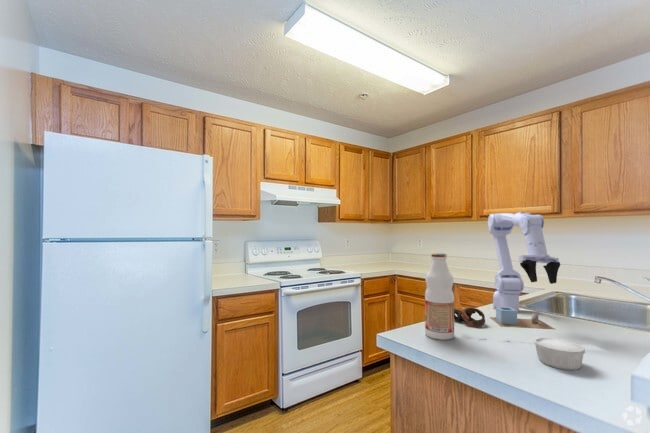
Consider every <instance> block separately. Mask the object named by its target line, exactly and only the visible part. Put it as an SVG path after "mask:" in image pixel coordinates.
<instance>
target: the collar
mask: <svg viewBox="0 0 650 433" xmlns="http://www.w3.org/2000/svg"><path fill="white" fill-rule="evenodd" d="M495 317H496V320H497V321H498V322H500V323H501V324H512V325H517V319H518V312H517V311H516V310H515V309H513V308H511V307H496V309H495Z"/></svg>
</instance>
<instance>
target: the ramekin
mask: <svg viewBox="0 0 650 433" xmlns="http://www.w3.org/2000/svg"><path fill="white" fill-rule="evenodd" d="M534 345H535V350H536V354H537V358H538V360H539V361H540V362H541V363H543V365H547V366H549V367H553V368H556V369H560V370H565V371H566V370H567V371H568V370H570V371H574V370H579V369H580V368H581V367H582V365H583V359H584V354H585V353H586V351H585V350H586V349H585V347H583V345H581V344H579V343H576V342H574V341H570V340H567V339H561V338H558V337H557V338H556V337H537V338H535V339H534Z"/></svg>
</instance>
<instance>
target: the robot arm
mask: <svg viewBox="0 0 650 433" xmlns="http://www.w3.org/2000/svg"><path fill="white" fill-rule="evenodd" d="M544 225H545V219H544V216H542V215H541V214H540V213H539V214H531V213H530V212H526V213H525V211H519V212H516V213H511V212H510V213H509V212H507V213H490V214H489V216H488V218H487V226H488V230H489V233H490V234H491V235H493V241H494V246H495V251H496V255H497V261H498V266H499V269H500V270H499V271H498V272H497V273H495V275H494V286H495V291H494V293H493V295H492V300H493V301H492V304H493V305H492V306H493V307H492V308H493V310H496V307H511V308H513V309H515V310H516V311H517V313H519V312H520V294H521V293H522V292H523V291H524V289H525V283H524V281H523V279H522V276H521V273H520V272H519V271H517V270H515V269H514V268H513V267H514V266H513V263H512V259H511V253H510V249H509V245H508V240H507V236H508V235H509V234H511V232H512V231H513V229H514V227H517V228H520V230H521V231H522V234H523V235H524V237H525V243H526V247H527V253H528V254H527V255H526V254H522V255H518V260H519V265H520V267H521V268H522V269H523V271H524V272H525V273H526V276H527V277H528V278H529V281H530V282H531V283H537V282H538V277H537V263H541V264H546V265H543V266H542V267H543V269H544V270H545V273H546V274H547V278H548V281H549V284H557V279H558V272H559V269H560V266H561V262H560V260H559V257H553V256H551V255H550V254H548V251H547V246H546V242H545V237H544V233H543V228H544Z"/></svg>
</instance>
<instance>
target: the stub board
mask: <svg viewBox="0 0 650 433" xmlns="http://www.w3.org/2000/svg"><path fill="white" fill-rule="evenodd" d="M489 319H491V320H492V321H493V322H494V323H496V324H497V326H500V328H503V327H504V328H520V329H521V328H523V329H541V330H542V329H543V330H556V328H555V327H553V326H551V325H549V324H548V323H546V322H545V321H542V320H541V319H539V314H538V313H536V312H535V313H534V312H533V313H531V318H517V325H512V324H501V323H500V322H498V321H497V320H496V316H494V317H493V316H491V317H489Z"/></svg>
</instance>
